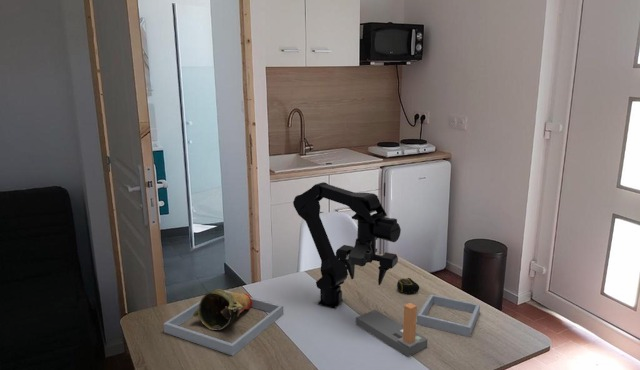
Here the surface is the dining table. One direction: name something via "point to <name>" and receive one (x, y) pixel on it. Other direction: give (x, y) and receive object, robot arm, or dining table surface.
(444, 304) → the tray
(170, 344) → the dining table surface
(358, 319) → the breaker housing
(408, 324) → the handle
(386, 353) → the dining table surface
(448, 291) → the dining table surface
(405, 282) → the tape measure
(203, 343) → the tray
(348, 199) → the robot arm
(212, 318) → the pot
